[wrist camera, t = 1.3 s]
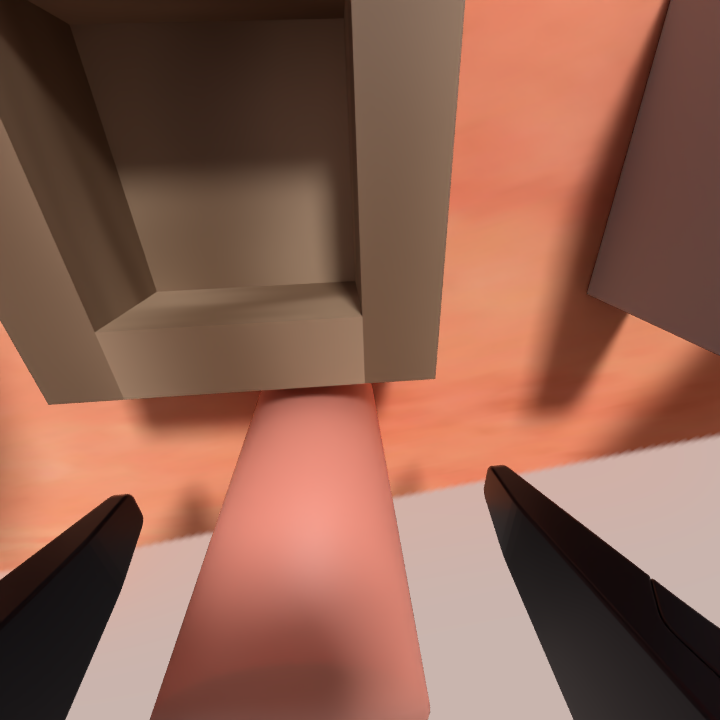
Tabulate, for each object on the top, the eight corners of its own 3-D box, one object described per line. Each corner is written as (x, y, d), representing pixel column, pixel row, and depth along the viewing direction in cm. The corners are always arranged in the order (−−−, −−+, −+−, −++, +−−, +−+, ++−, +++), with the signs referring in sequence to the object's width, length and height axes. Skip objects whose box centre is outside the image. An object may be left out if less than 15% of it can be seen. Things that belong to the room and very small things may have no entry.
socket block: (417, -72, 7) (487, -283, 4) (405, 319, 12) (434, 379, 8) (-20, -66, 7) (-351, -293, 4) (134, 335, 11) (48, 404, 8)
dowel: (370, 338, 12) (439, 648, 4) (372, 427, 14) (423, 756, 6) (256, 345, 12) (102, 681, 4) (273, 434, 14) (193, 782, 6)
